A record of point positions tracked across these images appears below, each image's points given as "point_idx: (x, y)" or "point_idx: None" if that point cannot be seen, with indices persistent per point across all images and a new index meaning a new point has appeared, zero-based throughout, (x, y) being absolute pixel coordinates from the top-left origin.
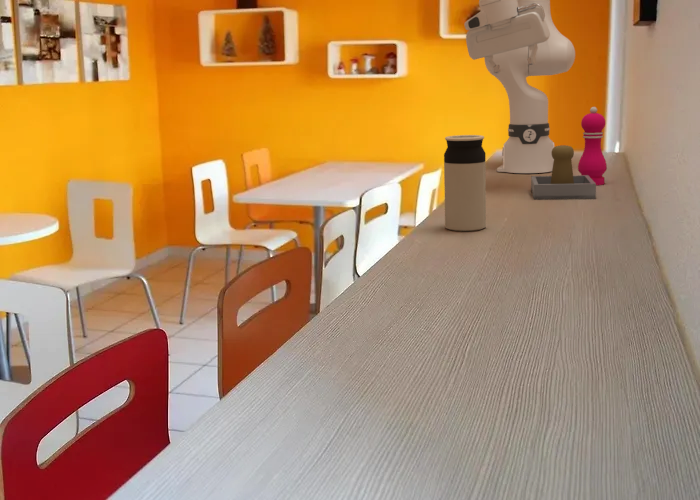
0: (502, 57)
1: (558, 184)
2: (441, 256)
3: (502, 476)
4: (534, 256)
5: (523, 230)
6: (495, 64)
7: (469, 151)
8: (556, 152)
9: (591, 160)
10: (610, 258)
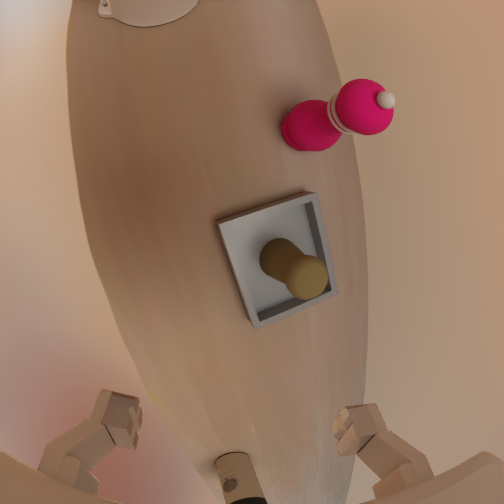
0: None
1: (289, 315)
2: None
3: None
4: (299, 480)
5: (280, 449)
6: (102, 431)
7: None
8: (299, 298)
9: (324, 145)
10: (336, 464)
